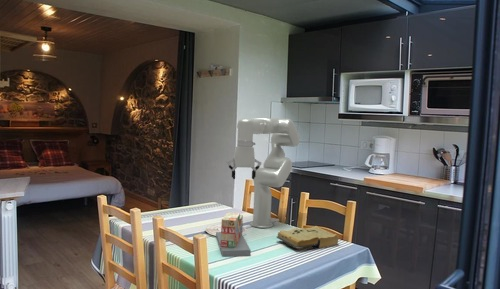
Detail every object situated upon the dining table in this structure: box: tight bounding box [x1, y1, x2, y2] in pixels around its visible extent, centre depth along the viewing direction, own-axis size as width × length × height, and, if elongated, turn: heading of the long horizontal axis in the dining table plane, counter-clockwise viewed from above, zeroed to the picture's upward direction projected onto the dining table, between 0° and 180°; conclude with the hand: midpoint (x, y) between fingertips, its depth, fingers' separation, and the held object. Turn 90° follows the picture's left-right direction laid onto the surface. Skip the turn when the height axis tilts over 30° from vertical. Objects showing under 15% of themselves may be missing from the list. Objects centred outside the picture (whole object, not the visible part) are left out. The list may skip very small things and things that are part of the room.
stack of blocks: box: [220, 212, 244, 248], centre depth 174 cm, size 21×6×12 cm, turn 172°
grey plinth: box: [215, 231, 252, 258], centre depth 174 cm, size 12×26×2 cm, turn 11°
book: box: [276, 225, 340, 251], centre depth 181 cm, size 25×17×6 cm
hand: (243, 178), depth 189 cm, fingers open, 9 cm apart
